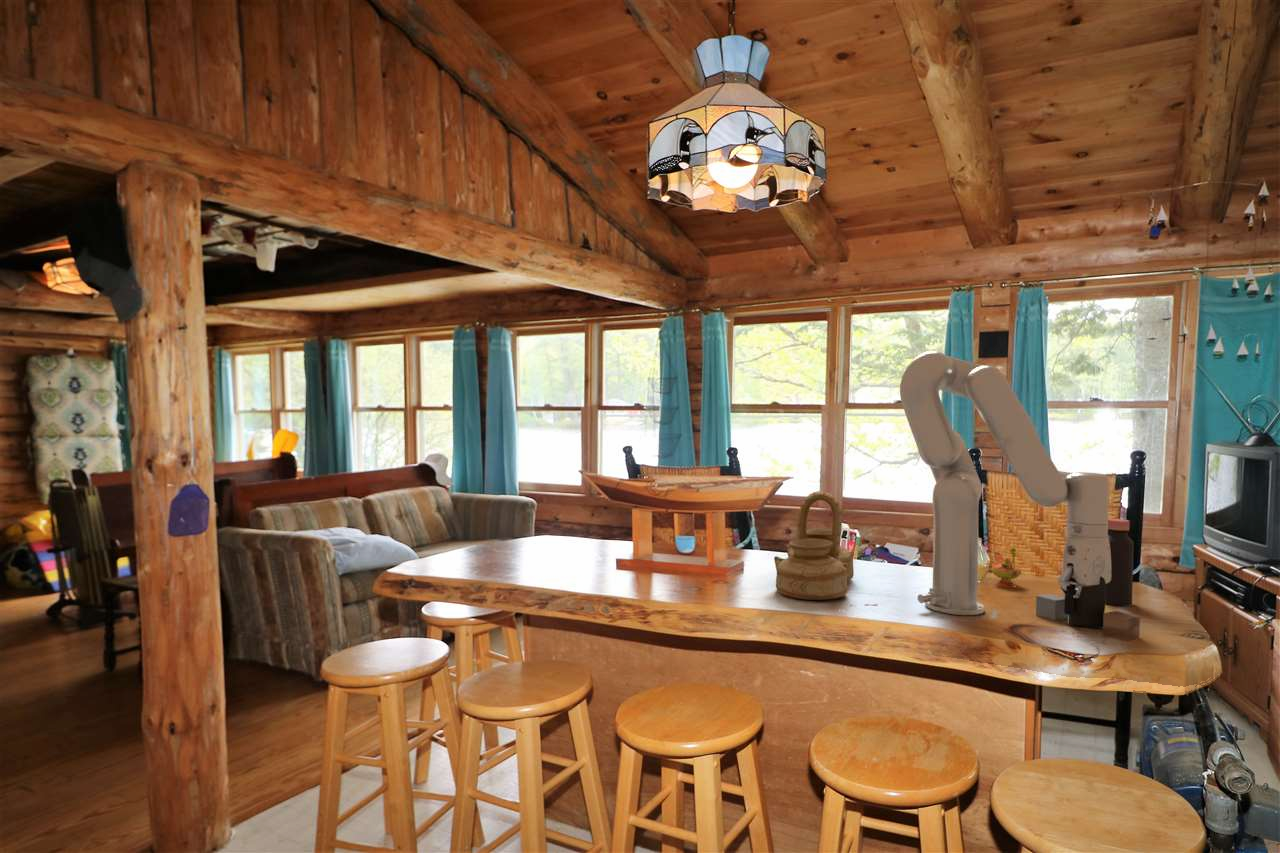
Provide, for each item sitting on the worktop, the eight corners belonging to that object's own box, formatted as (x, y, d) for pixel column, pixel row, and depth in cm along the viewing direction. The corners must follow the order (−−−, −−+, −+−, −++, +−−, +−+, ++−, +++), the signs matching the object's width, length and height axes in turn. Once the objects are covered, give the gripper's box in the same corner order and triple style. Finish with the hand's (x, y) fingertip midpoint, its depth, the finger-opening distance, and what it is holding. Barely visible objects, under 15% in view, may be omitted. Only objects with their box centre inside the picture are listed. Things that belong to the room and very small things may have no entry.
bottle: (1115, 598, 177) (1117, 517, 176) (1139, 606, 170) (1141, 521, 169) (1091, 599, 175) (1093, 518, 175) (1114, 607, 169) (1116, 522, 168)
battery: (1100, 624, 155) (1101, 571, 155) (1105, 629, 151) (1107, 575, 151) (1063, 621, 157) (1065, 569, 157) (1068, 626, 153) (1069, 572, 153)
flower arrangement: (1008, 576, 199) (1009, 537, 199) (1028, 592, 181) (1029, 549, 181) (981, 575, 201) (982, 535, 200) (999, 591, 183) (1000, 548, 183)
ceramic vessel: (788, 570, 206) (789, 483, 205) (855, 575, 200) (857, 486, 199) (767, 599, 174) (769, 496, 173) (846, 607, 168) (848, 500, 167)
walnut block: (1125, 641, 144) (1126, 619, 144) (1102, 634, 148) (1103, 613, 148) (1139, 638, 146) (1139, 616, 146) (1116, 632, 150) (1117, 610, 150)
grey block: (1054, 620, 158) (1055, 600, 158) (1035, 615, 162) (1036, 595, 162) (1068, 618, 160) (1068, 598, 160) (1049, 613, 164) (1049, 593, 164)
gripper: (1077, 536, 146) (1074, 623, 147) (1130, 531, 154) (1127, 613, 154) (1043, 530, 153) (1040, 613, 154) (1095, 525, 161) (1092, 604, 161)
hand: (1084, 612), depth 154 cm, fingers closed on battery, 6 cm apart
